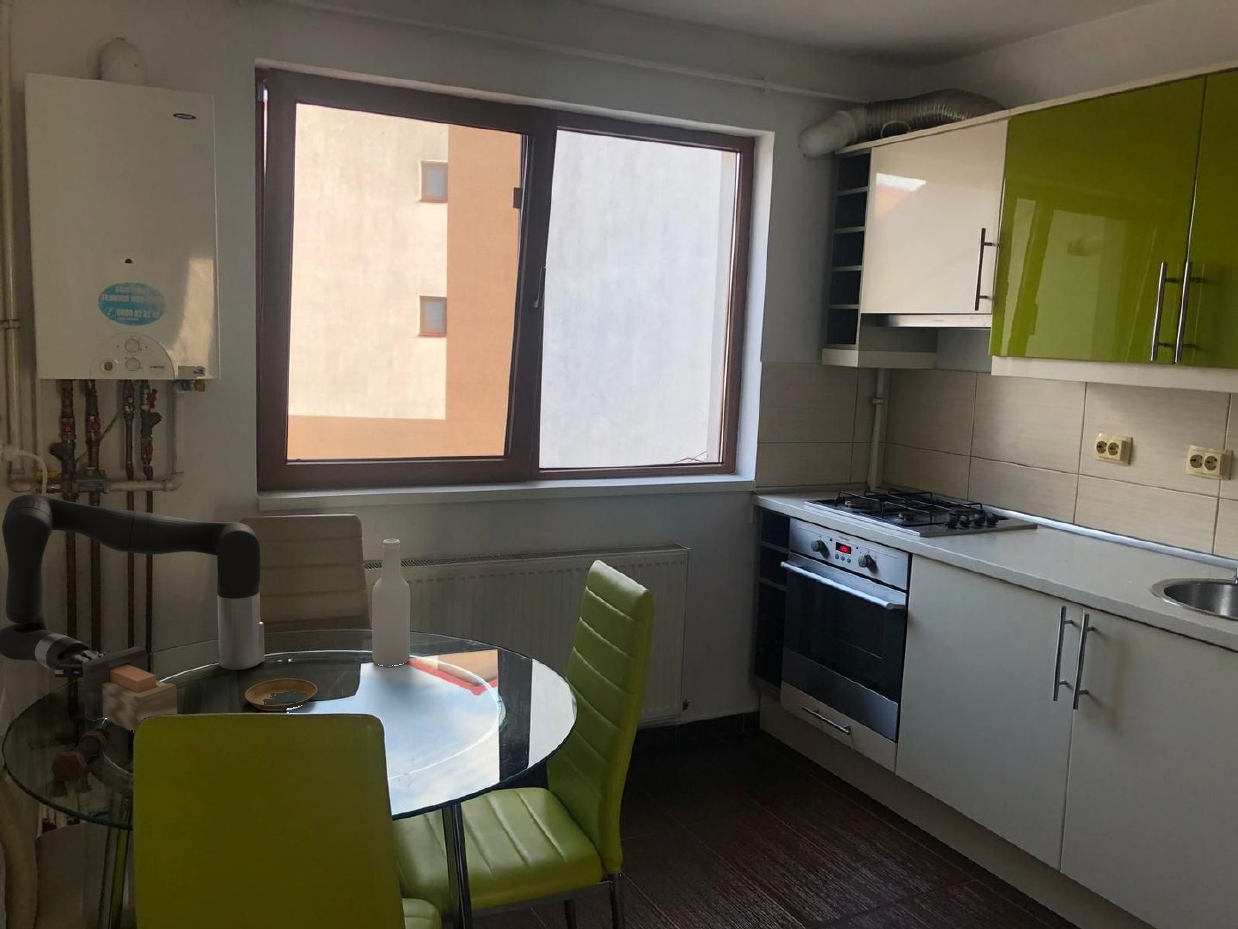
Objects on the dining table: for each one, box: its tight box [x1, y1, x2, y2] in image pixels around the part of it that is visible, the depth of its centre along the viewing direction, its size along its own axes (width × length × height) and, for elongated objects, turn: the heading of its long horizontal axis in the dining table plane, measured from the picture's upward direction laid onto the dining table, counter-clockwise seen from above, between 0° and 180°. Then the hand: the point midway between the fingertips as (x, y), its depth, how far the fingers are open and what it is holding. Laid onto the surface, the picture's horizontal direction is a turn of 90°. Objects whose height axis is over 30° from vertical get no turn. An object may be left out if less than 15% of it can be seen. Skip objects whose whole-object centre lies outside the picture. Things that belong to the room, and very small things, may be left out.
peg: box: [109, 663, 157, 694], centre depth 205 cm, size 13×4×4 cm, turn 58°
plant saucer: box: [244, 678, 318, 713], centre depth 216 cm, size 15×15×3 cm
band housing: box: [82, 645, 178, 734], centre depth 204 cm, size 16×12×12 cm
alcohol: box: [371, 538, 411, 666], centre depth 239 cm, size 9×9×30 cm
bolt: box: [50, 727, 111, 782], centre depth 187 cm, size 6×5×15 cm
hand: (107, 673), depth 208 cm, fingers closed
